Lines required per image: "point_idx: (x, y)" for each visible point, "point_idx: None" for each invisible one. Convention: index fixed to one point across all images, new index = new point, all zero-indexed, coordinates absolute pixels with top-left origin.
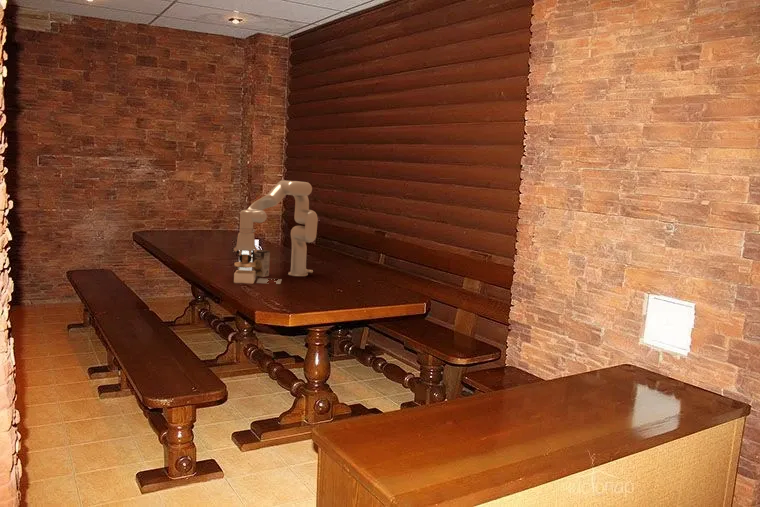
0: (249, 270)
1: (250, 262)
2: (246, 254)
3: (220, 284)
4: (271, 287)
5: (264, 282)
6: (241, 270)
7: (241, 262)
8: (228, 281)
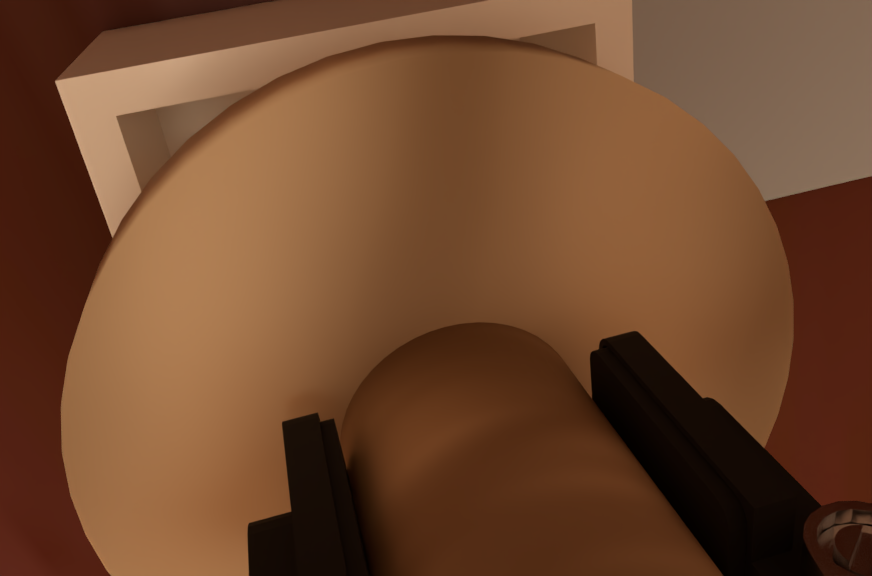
0: (458, 5)
1: (608, 172)
2: (616, 569)
3: (44, 560)
4: (839, 396)
5: (739, 148)
6: (227, 93)
7: (288, 351)
8: (30, 278)
